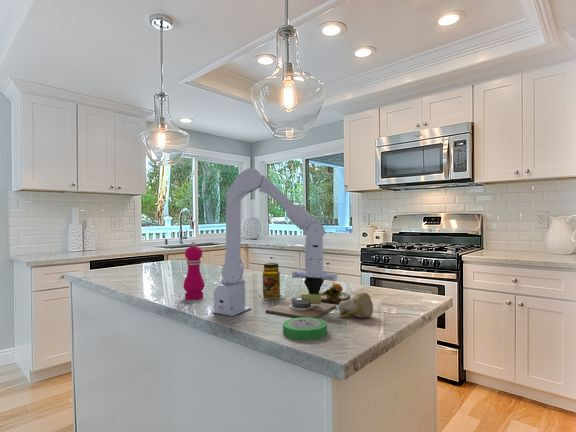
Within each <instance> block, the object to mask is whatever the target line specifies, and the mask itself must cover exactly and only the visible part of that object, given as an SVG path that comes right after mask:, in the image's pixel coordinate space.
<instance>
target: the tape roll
mask: <svg viewBox="0 0 576 432" xmlns="http://www.w3.org/2000/svg"><path fill="white" fill-rule="evenodd" d="M282 333H283V336H285V337H286V338H289V339H292V340H297V341H314V340H319V339H322V338H325V337H326V336H327V335H328V324H327V322H326V320H324V319H322V318H321V319H320V318H319V317H318V318H311V317H300V318H295V317H292V318H290V319H287V320H286V321H284V322H283V323H282Z"/></svg>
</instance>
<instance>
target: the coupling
mask: <svg viewBox="0 0 576 432" xmlns="http://www.w3.org/2000/svg"><path fill="white" fill-rule="evenodd" d="M300 295H301V296H300ZM300 295H299V296H294V297H291V299H292V306H293V307H299V308H304V307H310V306H311V304H321V303H322V300H321V294H314V293H309V292H307V293H305V292H304V293H301V294H300Z"/></svg>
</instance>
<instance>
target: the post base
mask: <svg viewBox="0 0 576 432" xmlns="http://www.w3.org/2000/svg"><path fill="white" fill-rule="evenodd" d="M335 308H337V305H336V304H334V303H333V304H328V303H327V302H321V304H311V306H310V307H304V308H299V307H293V306H292V298H291V299H289V300H287V301H286V300H285V301H284V302H281V303H279V304H277V305H274V306H272V307H269V308H268V309H265V313H267V314H273V315H278V316H283V317H291V318H300V317H311V318H318V319H319V318H320V317H321V316H323V315H324V314H326V313H328V312H331V311H333V310H334V309H335Z"/></svg>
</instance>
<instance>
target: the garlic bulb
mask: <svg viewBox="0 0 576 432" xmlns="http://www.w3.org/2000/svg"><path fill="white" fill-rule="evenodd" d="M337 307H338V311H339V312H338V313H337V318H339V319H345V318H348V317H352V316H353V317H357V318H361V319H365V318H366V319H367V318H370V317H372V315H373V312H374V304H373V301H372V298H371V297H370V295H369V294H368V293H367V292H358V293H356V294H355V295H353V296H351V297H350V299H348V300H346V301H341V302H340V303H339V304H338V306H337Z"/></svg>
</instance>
